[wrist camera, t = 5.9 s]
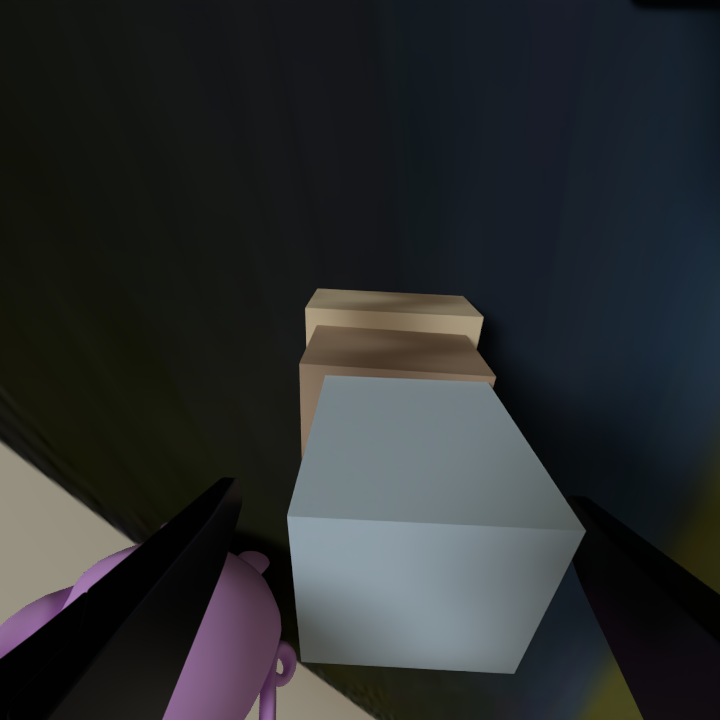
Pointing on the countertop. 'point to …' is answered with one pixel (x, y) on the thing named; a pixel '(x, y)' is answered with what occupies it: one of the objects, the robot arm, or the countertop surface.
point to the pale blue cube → (423, 528)
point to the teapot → (202, 641)
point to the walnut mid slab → (383, 360)
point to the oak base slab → (393, 312)
